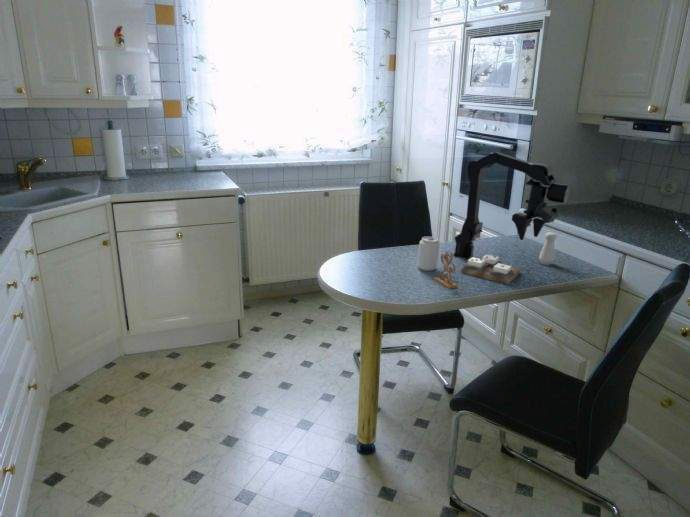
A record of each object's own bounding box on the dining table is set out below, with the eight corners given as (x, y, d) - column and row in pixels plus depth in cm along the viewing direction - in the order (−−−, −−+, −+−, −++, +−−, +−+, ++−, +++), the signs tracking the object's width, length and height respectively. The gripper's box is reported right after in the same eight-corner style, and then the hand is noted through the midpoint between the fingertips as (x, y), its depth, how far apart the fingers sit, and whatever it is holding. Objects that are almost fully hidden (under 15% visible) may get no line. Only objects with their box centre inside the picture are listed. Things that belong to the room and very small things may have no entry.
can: (438, 267, 198) (442, 237, 194) (433, 273, 192) (437, 242, 188) (420, 263, 201) (423, 234, 197) (414, 269, 194) (417, 239, 190)
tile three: (467, 264, 194) (468, 259, 193) (471, 261, 198) (472, 256, 197) (480, 267, 191) (480, 262, 190) (484, 264, 195) (485, 259, 194)
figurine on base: (457, 287, 179) (462, 255, 175) (448, 288, 178) (453, 256, 174) (442, 278, 187) (446, 247, 183) (433, 279, 185) (437, 248, 181)
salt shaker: (553, 266, 207) (560, 235, 203) (539, 264, 208) (545, 234, 204) (551, 262, 213) (557, 232, 208) (537, 260, 214) (542, 230, 209)
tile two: (481, 261, 198) (482, 256, 197) (485, 258, 202) (486, 253, 201) (494, 264, 195) (495, 259, 195) (498, 261, 199) (499, 256, 199)
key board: (461, 272, 194) (462, 264, 193) (474, 262, 206) (475, 255, 205) (507, 284, 185) (509, 276, 184) (519, 273, 197) (521, 265, 196)
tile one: (493, 271, 188) (493, 266, 188) (497, 267, 192) (498, 262, 192) (506, 274, 186) (507, 269, 185) (510, 270, 190) (511, 265, 189)
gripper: (541, 205, 178) (532, 247, 184) (570, 201, 189) (561, 241, 195) (514, 198, 186) (506, 239, 192) (543, 194, 197) (535, 233, 203)
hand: (528, 238), depth 195 cm, fingers open, 9 cm apart
